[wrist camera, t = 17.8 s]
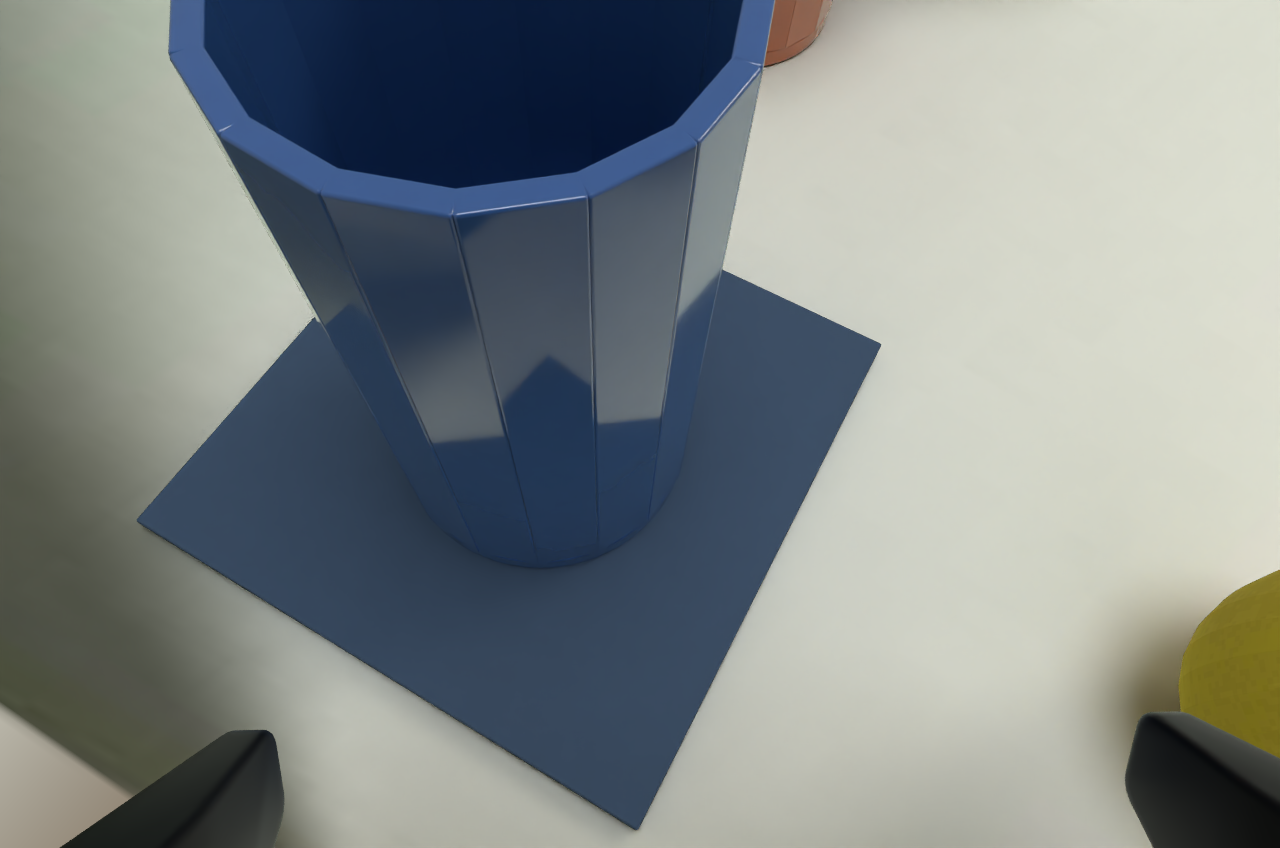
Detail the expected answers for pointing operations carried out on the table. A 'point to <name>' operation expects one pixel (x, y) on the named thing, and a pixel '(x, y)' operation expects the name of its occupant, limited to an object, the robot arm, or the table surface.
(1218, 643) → the lemon
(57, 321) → the table surface
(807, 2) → the terracotta cup
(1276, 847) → the robot arm
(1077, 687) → the table surface
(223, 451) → the blue mat
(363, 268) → the blue cup
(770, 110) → the table surface
